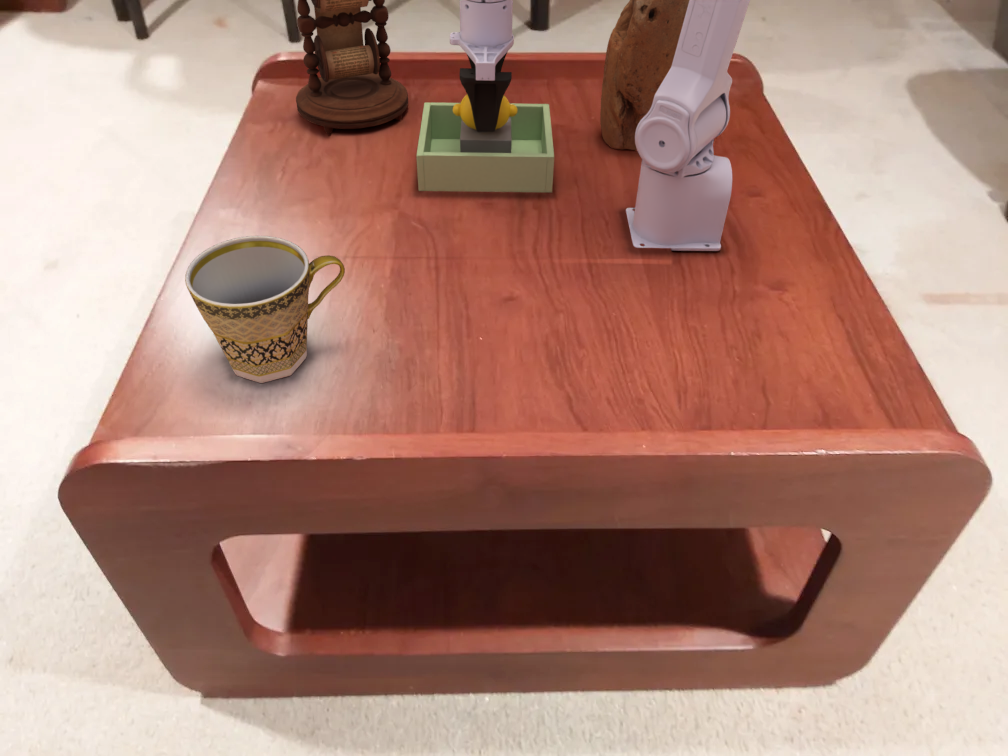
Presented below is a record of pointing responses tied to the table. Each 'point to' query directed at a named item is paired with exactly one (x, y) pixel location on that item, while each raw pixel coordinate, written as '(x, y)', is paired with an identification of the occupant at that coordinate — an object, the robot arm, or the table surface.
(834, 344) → the table surface
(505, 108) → the lemon
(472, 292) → the table surface
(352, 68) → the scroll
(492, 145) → the grey block
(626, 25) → the brown upright lump
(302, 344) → the ceramic cup
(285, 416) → the table surface
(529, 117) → the crate
